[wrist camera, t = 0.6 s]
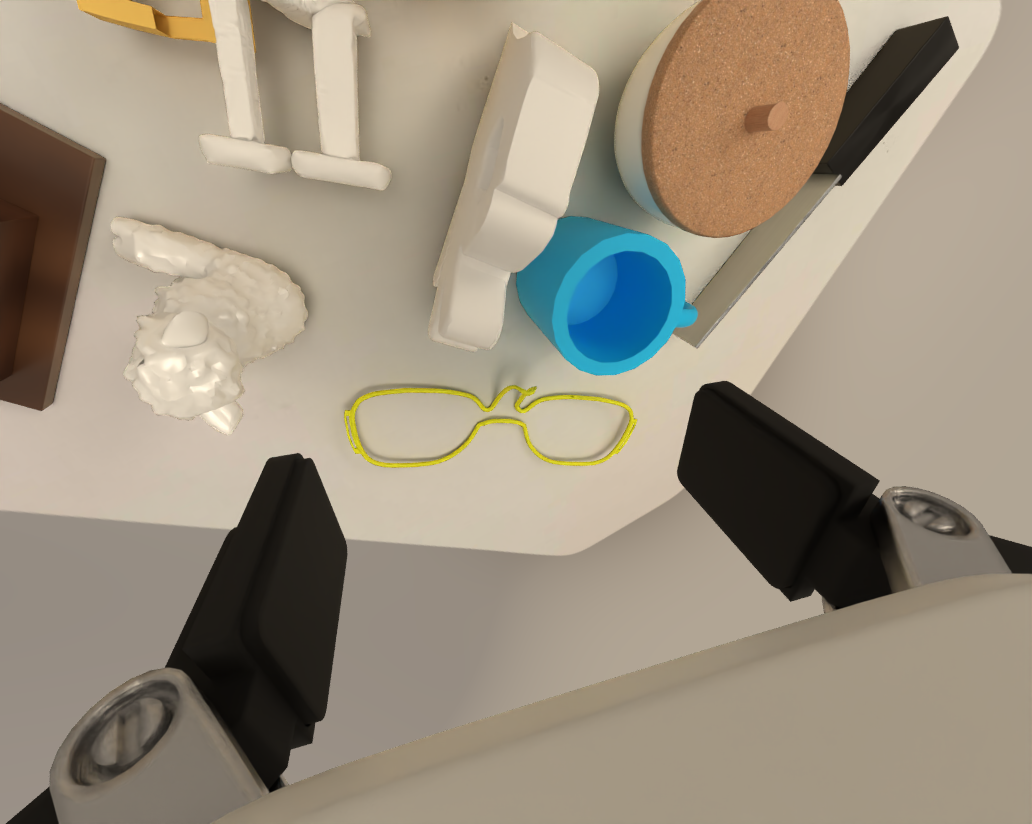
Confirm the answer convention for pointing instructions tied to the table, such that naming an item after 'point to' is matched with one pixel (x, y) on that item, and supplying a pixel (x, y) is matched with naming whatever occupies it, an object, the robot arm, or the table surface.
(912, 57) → the tall black pillar
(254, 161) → the figure
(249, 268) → the white creature statuette
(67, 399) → the table surface
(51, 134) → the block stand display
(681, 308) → the mug
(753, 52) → the trinket box
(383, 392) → the glasses
